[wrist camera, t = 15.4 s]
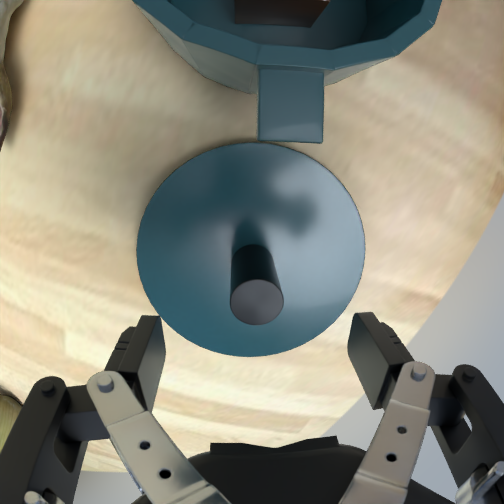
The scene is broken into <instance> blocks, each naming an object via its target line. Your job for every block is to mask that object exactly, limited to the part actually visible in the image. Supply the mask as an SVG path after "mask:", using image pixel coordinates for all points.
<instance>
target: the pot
mask: <svg viewBox="0 0 504 504" xmlns="http://www.w3.org/2000/svg"><path fill="white" fill-rule="evenodd" d="M132 1H133V2H134V3H135V4H136V6H137V7H138V8H139V9H140V10H141V11H142V13H143V14H144V15H145V16H146V17H147V19H148V20H149V21H150V22H151V23H152V25H153V26H154V27H155V28H156V29H157V31H158V32H159V33H160V34H161V35H162V37H163V38H164V39H165V40H166V42H167V43H168V44H169V45H170V46H171V48H172V49H173V50H174V51H175V52H176V53H177V54H178V55H180V56H181V57H182V58H183V59H184V60H185V61H186V62H187V63H188V64H189V65H191V66H192V67H193V68H195V69H196V70H197V71H198V72H199V73H200V74H201V75H202V76H204V77H205V78H208V79H211V80H213V81H215V82H218V83H220V84H222V85H225V86H227V87H230V88H233V89H237V90H240V91H243V92H245V93H249V94H257V126H256V139H257V140H258V141H274V142H300V143H318V144H321V143H322V142H323V122H324V86H327V85H330V84H333V83H336V82H338V81H341V80H343V79H345V78H347V77H349V76H351V75H353V74H356V73H358V72H360V71H362V70H365V69H367V68H369V67H371V66H374V65H376V64H378V63H381V62H383V61H386V60H388V59H390V58H393V57H395V56H397V55H399V54H400V53H401V52H402V51H403V50H405V49H406V48H407V47H408V46H410V45H411V44H412V43H413V42H414V41H416V40H417V39H418V38H419V37H421V36H422V35H423V34H424V33H426V32H427V31H428V30H430V29H431V28H432V27H433V25H434V24H435V21H436V18H437V15H438V12H439V9H440V6H441V2H442V0H330V3H329V4H328V5H327V7H326V8H325V9H324V11H323V12H322V13H321V14H320V16H319V17H318V18H317V20H316V21H315V22H314V24H313V25H312V27H311V28H308V27H298V26H285V25H267V24H235V10H234V0H132Z"/></svg>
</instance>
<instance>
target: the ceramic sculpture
mask: <svg viewBox="0 0 504 504" xmlns="http://www.w3.org/2000/svg"><path fill="white" fill-rule="evenodd" d="M23 1H24V0H0V151H1V148H2V145H3V142H4V139H5V136H6V133H7V129H8V125H9V119H10V114H11V110H12V94H11V88H10V84H9V80H8V77H7V74H6V71H5V67H4V63H3V59H4V52H5V42H6V36H7V32H8V27H9V21H10V17H11V15H12V13H13V12H14V10H15V9H16V8H17V7H19V6H20V5H21V4H22V2H23Z"/></svg>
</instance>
